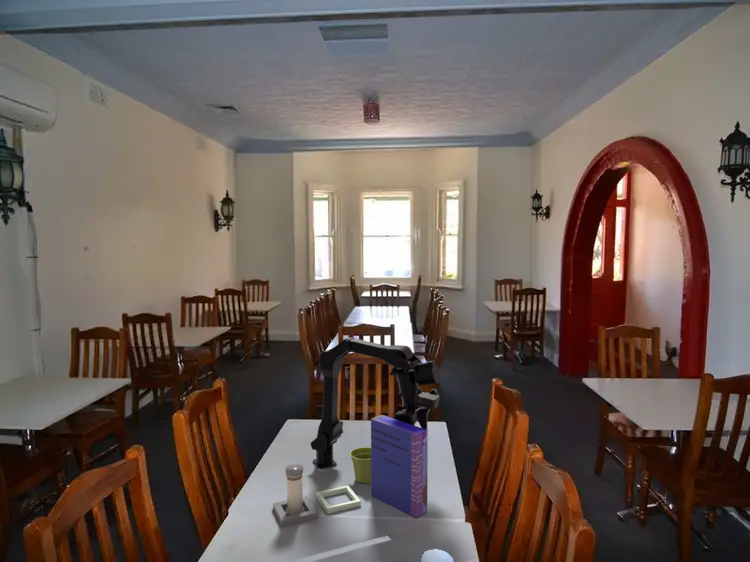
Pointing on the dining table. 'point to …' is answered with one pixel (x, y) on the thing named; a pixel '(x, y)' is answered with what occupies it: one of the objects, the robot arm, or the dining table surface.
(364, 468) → the plant pot
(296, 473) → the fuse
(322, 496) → the parts tray
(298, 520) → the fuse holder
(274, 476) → the dining table surface
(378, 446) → the cereal box
